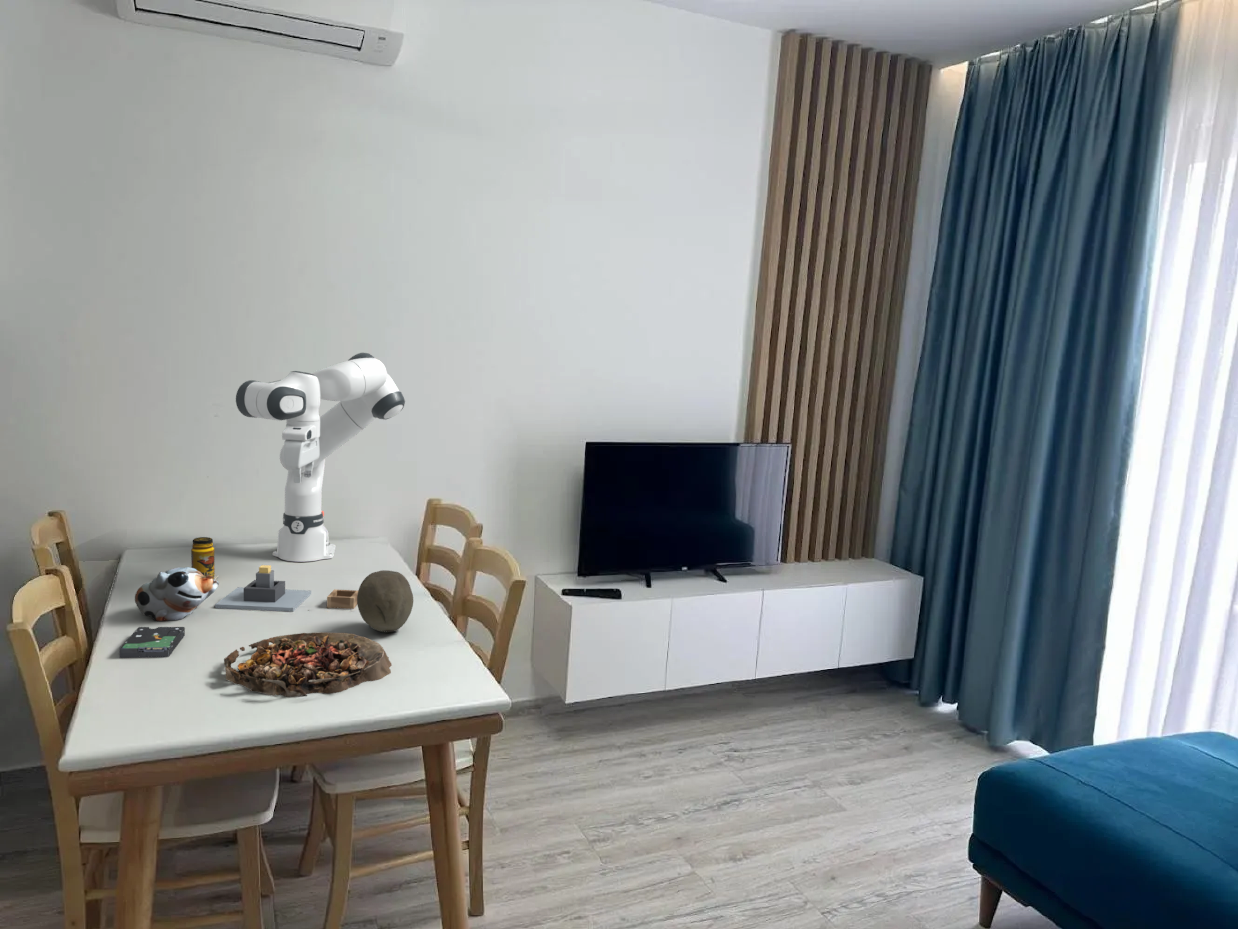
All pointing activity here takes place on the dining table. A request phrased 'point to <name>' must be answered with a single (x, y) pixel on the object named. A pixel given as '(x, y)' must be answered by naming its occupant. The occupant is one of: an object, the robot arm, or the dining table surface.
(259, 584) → the plug
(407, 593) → the grey brown round stone
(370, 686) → the dining table surface
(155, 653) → the disk drive
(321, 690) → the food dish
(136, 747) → the dining table surface
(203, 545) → the condiment
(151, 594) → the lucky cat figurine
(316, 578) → the dining table surface
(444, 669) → the dining table surface
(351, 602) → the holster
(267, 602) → the port
